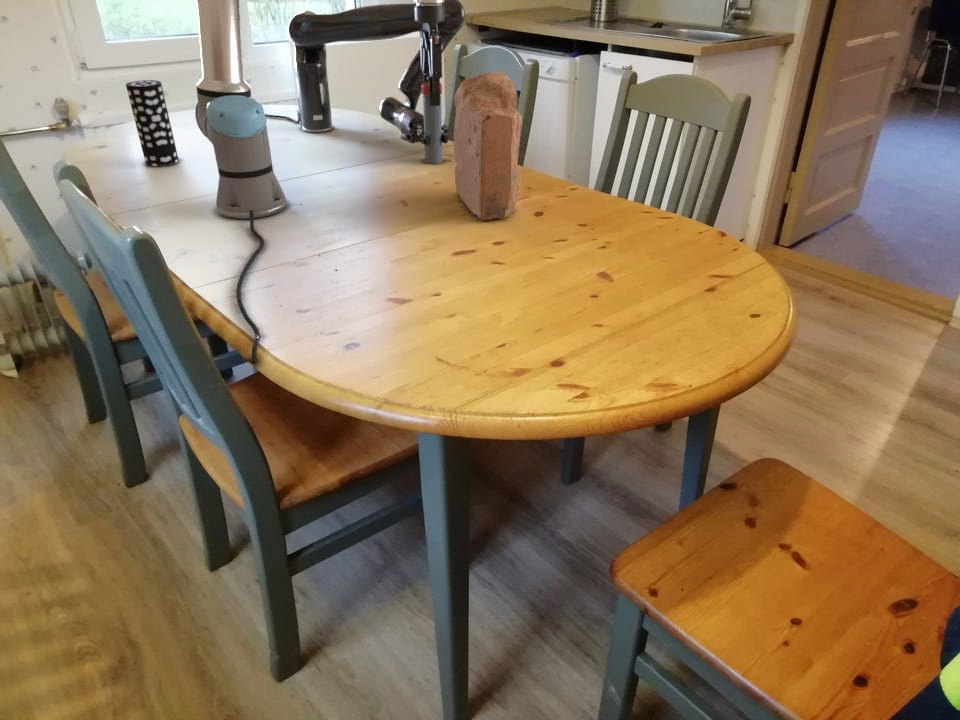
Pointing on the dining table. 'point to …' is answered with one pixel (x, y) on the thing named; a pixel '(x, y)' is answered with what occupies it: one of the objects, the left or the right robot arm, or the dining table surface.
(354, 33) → the right robot arm
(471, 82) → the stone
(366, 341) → the dining table surface
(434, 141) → the bottle
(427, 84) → the lid
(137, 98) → the black white spotted cylinder
